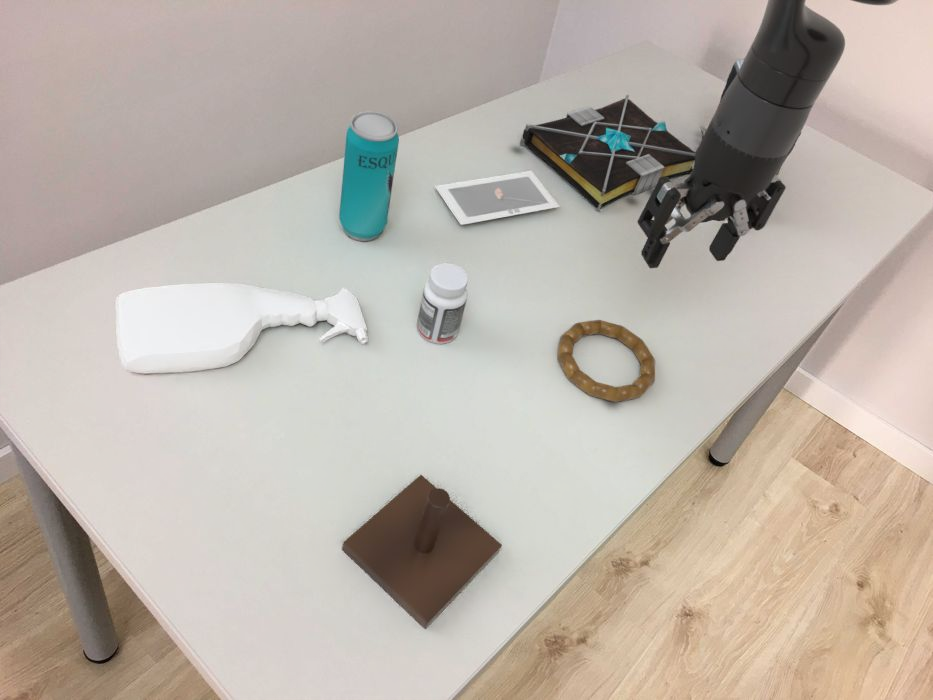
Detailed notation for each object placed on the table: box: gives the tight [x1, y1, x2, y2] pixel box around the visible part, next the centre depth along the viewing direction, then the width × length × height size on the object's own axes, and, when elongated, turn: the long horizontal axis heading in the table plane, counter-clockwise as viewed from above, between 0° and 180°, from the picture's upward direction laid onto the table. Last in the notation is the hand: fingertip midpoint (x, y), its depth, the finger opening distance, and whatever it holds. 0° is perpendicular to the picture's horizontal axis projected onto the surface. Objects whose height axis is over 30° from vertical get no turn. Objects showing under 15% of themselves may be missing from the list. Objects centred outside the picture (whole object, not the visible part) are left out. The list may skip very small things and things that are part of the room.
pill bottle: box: [416, 262, 469, 345], centre depth 85 cm, size 5×5×8 cm
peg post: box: [341, 474, 503, 630], centre depth 67 cm, size 10×10×10 cm
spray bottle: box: [114, 282, 369, 374], centre depth 82 cm, size 3×11×24 cm
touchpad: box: [434, 170, 560, 226], centre depth 104 cm, size 8×15×2 cm, turn 117°
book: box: [519, 94, 696, 212], centre depth 115 cm, size 22×17×5 cm
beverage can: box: [338, 110, 400, 242], centre depth 91 cm, size 6×6×15 cm
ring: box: [557, 319, 656, 403], centre depth 89 cm, size 11×11×2 cm
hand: (683, 259), depth 84 cm, fingers open, 8 cm apart
